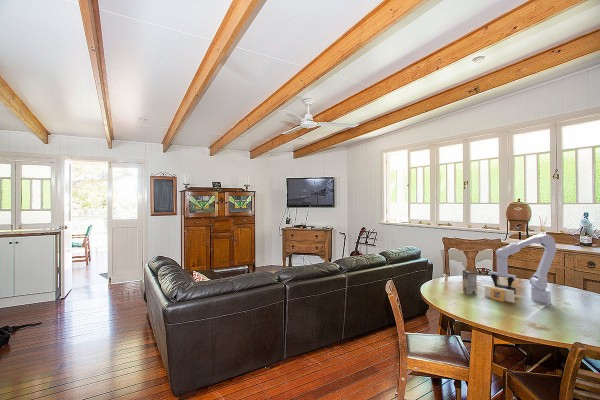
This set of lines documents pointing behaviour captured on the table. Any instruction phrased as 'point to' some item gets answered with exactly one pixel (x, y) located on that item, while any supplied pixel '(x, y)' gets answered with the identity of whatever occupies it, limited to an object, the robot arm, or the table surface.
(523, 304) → the table surface
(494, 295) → the block
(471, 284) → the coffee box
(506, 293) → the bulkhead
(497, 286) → the shaft
